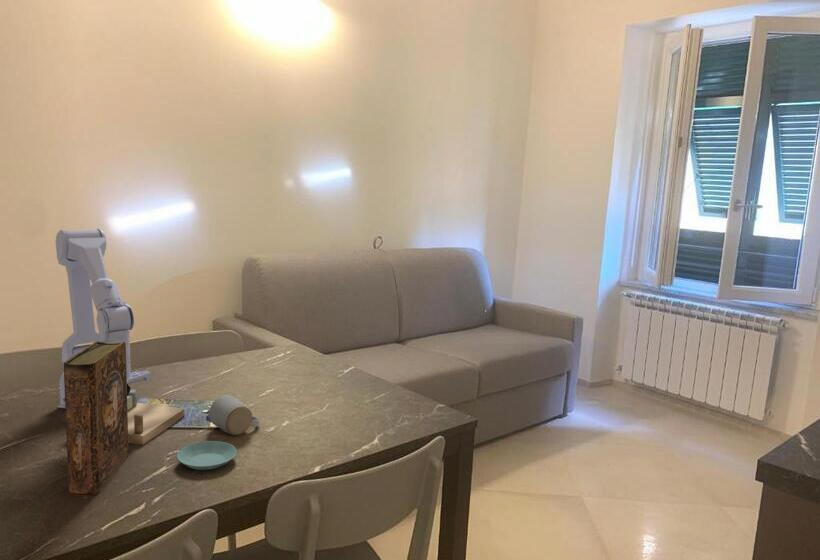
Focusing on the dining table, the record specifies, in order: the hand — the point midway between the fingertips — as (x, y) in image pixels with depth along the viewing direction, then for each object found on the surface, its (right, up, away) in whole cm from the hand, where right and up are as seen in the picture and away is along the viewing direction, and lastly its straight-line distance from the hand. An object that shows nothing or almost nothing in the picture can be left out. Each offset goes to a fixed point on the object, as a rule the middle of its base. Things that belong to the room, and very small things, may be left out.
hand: (118, 416), depth 144 cm
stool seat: (+2, -3, +3) cm, 5 cm away
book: (+6, -7, -21) cm, 23 cm away
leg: (-2, 0, +4) cm, 4 cm away
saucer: (+25, -7, -13) cm, 29 cm away
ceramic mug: (+26, -4, +4) cm, 26 cm away
